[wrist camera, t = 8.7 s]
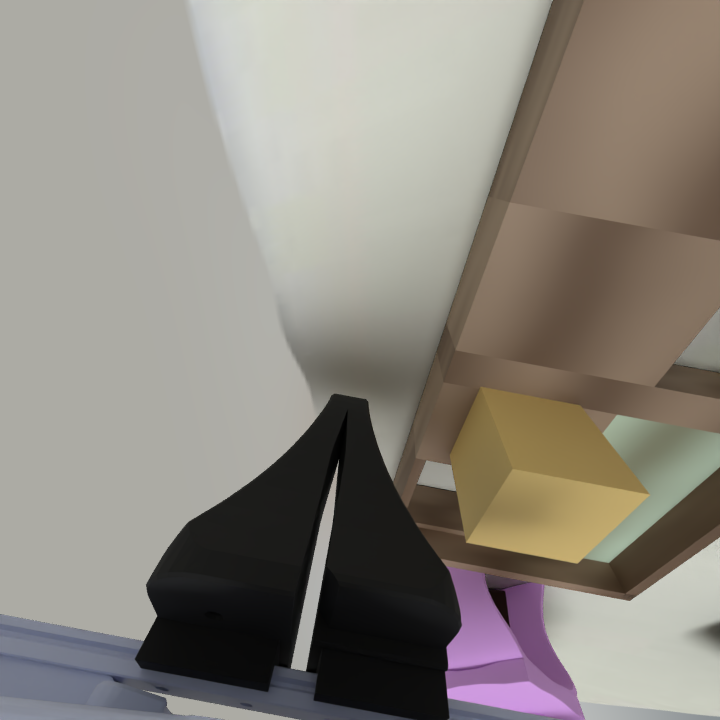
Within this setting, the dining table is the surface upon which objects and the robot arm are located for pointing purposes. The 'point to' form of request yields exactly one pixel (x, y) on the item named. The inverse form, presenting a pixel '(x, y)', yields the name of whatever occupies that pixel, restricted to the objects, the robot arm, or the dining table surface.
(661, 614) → the dining table surface
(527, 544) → the block
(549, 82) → the tray
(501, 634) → the toy chair
